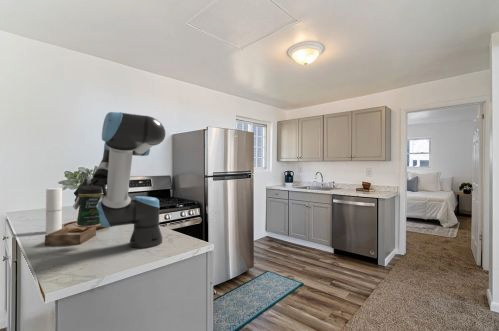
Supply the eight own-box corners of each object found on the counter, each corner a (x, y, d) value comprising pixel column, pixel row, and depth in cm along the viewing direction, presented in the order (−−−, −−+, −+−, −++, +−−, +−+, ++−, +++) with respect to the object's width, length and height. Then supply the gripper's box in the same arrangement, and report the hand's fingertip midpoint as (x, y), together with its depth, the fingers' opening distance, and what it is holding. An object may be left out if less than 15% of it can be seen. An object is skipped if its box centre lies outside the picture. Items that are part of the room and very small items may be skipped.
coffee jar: (78, 227, 109) (79, 186, 109) (75, 224, 115) (76, 185, 115) (103, 224, 115) (104, 185, 115) (99, 221, 121) (100, 184, 121)
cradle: (96, 235, 133) (96, 226, 133) (80, 244, 118) (80, 234, 118) (65, 236, 131) (65, 227, 131) (44, 245, 116) (45, 235, 116)
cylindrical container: (52, 234, 135) (53, 189, 135) (42, 233, 136) (42, 189, 136) (64, 230, 142) (65, 188, 142) (54, 230, 143) (55, 187, 143)
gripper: (127, 178, 132) (113, 213, 116) (84, 176, 129) (64, 212, 113) (124, 168, 126) (109, 203, 111) (79, 167, 124) (57, 202, 108)
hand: (86, 208), depth 112 cm, fingers closed on coffee jar, 9 cm apart
